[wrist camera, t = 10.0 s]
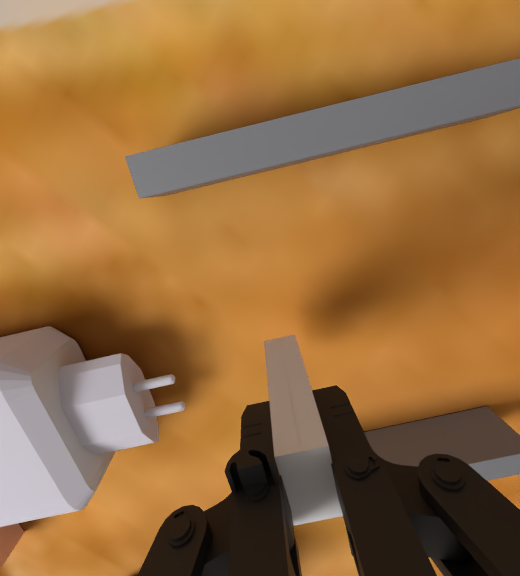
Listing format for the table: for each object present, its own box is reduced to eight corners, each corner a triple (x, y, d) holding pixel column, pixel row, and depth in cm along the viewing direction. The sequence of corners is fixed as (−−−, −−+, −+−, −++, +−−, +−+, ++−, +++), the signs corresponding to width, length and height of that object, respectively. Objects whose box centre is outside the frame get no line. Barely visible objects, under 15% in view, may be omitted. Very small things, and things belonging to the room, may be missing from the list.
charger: (209, 426, 20) (-11, 473, 20) (163, 295, 17) (-92, 354, 17) (198, 497, 15) (-85, 556, 16) (132, 334, 12) (-212, 413, 13)
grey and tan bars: (491, 54, 14) (570, 11, 10) (486, 435, 20) (533, 484, 17) (-217, 231, 15) (-353, 244, 11) (4, 536, 22) (-40, 599, 18)
